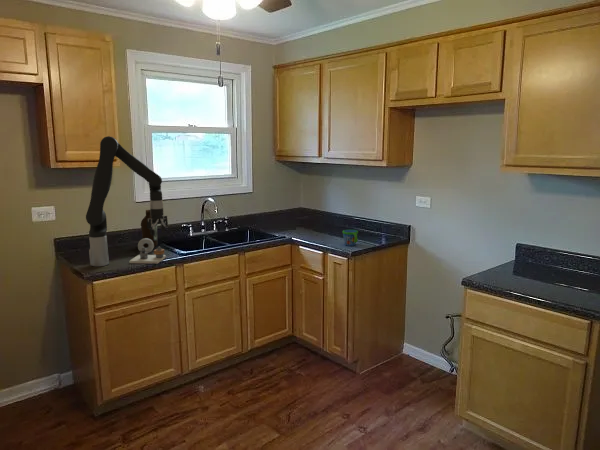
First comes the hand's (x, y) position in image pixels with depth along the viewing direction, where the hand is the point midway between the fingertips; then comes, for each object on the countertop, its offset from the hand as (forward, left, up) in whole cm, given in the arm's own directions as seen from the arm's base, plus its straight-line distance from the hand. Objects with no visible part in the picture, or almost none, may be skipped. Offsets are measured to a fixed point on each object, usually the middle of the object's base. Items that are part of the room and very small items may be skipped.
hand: (158, 233), depth 271 cm
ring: (0, 0, -12) cm, 12 cm away
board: (-6, -2, -16) cm, 17 cm away
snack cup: (+119, +42, -16) cm, 127 cm away
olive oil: (-19, +35, -16) cm, 43 cm away
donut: (-14, +14, -16) cm, 26 cm away
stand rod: (-8, -3, -14) cm, 17 cm away
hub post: (0, 0, -15) cm, 15 cm away
